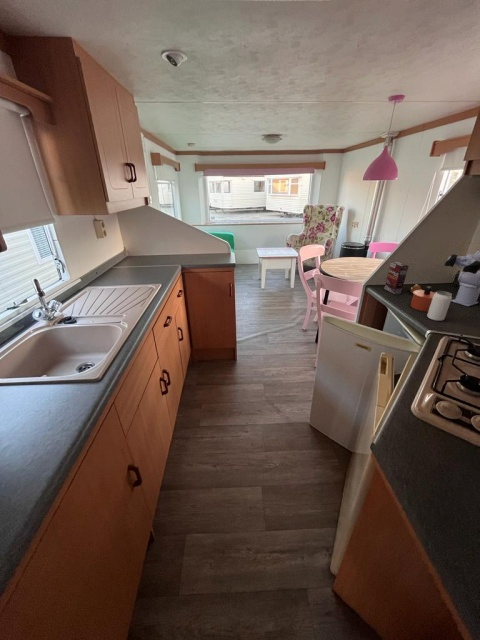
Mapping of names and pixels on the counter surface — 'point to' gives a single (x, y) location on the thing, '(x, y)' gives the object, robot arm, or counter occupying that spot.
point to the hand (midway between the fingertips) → (454, 266)
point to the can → (439, 305)
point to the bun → (415, 288)
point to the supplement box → (396, 277)
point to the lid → (425, 293)
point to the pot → (420, 303)
